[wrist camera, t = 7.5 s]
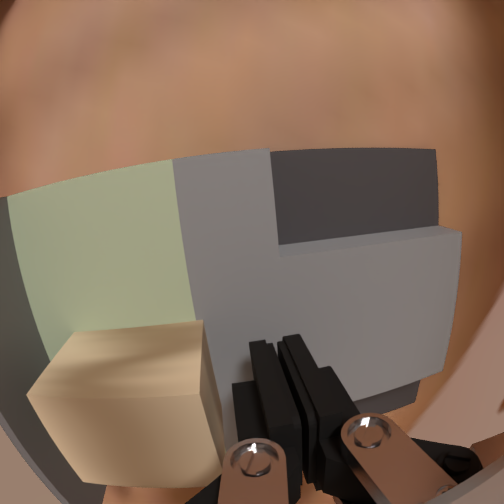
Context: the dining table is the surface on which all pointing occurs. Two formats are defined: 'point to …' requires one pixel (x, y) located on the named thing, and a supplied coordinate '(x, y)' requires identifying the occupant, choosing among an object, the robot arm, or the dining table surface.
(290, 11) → the dining table surface
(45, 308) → the multicoloured piece
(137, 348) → the maple block
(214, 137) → the dining table surface
